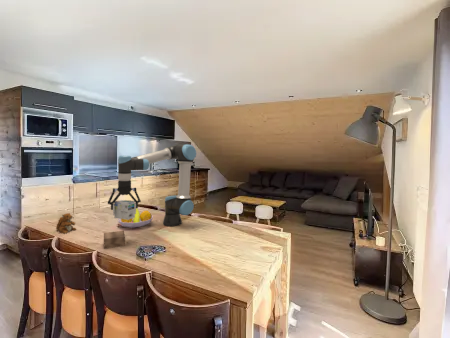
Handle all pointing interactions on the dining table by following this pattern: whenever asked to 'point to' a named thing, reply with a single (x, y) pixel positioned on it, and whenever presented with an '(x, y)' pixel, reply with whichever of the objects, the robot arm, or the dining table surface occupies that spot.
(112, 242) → the walnut step
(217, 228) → the dining table surface
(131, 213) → the light bulb box
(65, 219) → the stuffed squirrel
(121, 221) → the fruit bowl
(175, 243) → the dining table surface
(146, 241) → the dining table surface
